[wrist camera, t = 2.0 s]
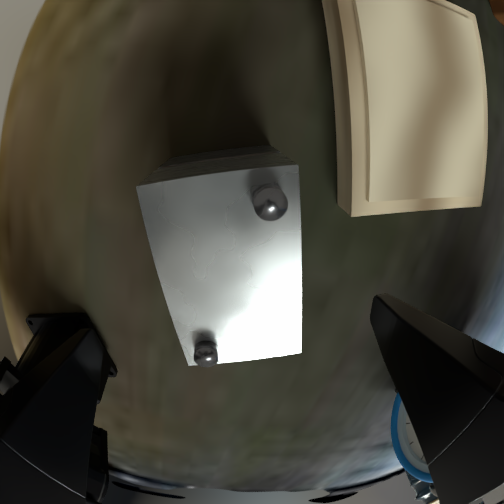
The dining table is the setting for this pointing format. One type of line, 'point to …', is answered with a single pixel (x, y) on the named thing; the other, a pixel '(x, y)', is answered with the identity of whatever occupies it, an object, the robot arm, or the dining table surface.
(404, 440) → the alarm clock
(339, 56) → the beige tray
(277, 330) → the box
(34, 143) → the dining table surface
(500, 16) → the plant
